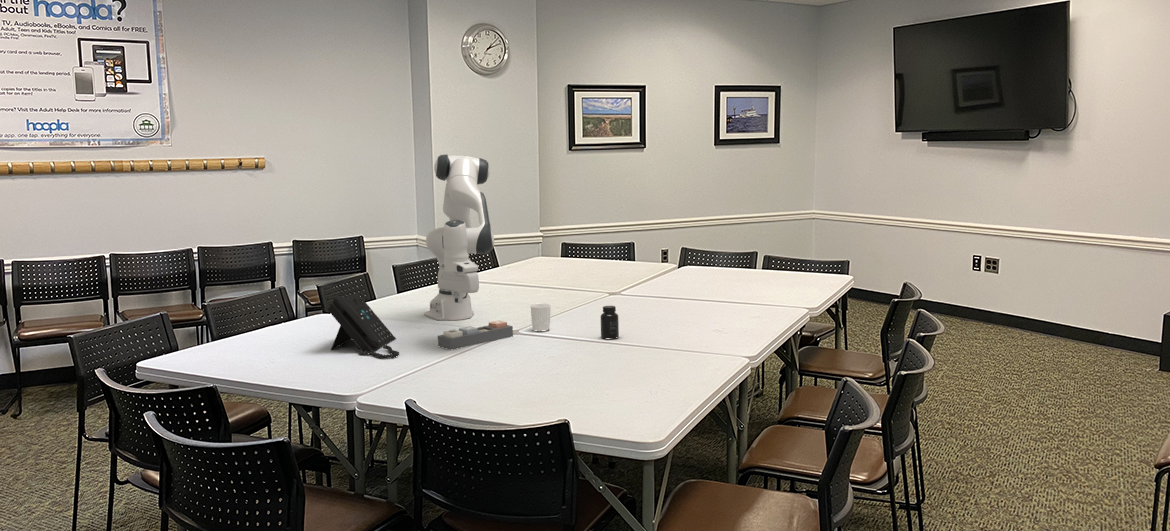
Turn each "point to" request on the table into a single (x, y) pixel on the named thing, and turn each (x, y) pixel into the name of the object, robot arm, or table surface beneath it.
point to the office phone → (360, 326)
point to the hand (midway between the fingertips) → (458, 302)
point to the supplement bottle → (609, 322)
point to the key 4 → (497, 324)
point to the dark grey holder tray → (475, 337)
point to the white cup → (540, 316)
